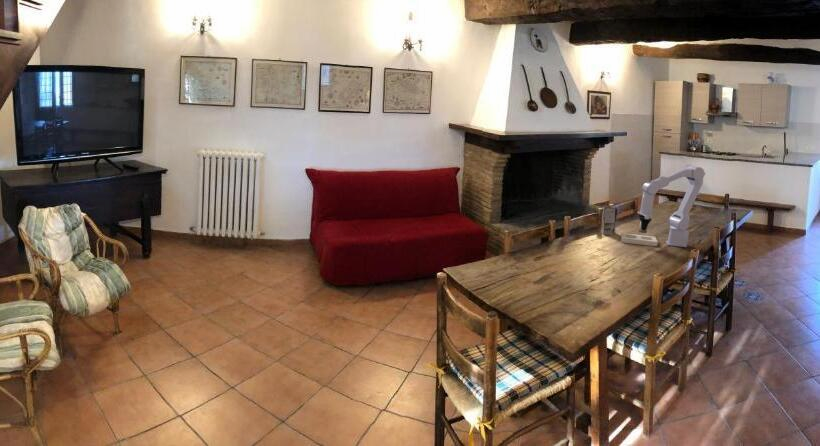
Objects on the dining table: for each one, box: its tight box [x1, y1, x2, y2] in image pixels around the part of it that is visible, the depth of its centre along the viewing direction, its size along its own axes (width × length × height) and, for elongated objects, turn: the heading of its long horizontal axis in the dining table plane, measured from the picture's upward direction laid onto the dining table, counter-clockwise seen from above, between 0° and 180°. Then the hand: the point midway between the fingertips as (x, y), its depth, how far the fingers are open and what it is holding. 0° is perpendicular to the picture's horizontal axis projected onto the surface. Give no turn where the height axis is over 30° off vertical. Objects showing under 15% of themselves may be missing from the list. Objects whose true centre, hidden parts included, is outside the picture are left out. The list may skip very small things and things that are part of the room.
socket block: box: [620, 232, 658, 247], centre depth 284 cm, size 18×11×2 cm, turn 72°
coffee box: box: [600, 204, 619, 237], centre depth 297 cm, size 9×6×16 cm
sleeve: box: [638, 220, 649, 234], centre depth 276 cm, size 4×4×6 cm
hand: (643, 229), depth 276 cm, fingers closed on sleeve, 4 cm apart
